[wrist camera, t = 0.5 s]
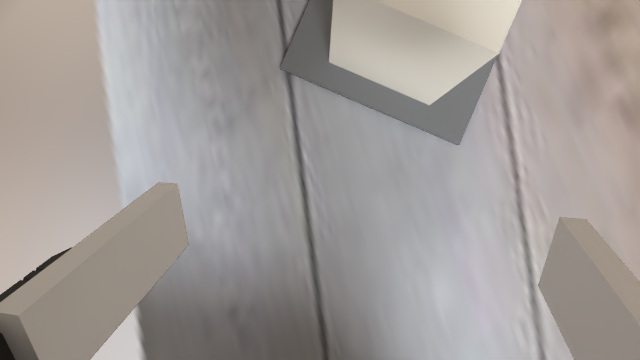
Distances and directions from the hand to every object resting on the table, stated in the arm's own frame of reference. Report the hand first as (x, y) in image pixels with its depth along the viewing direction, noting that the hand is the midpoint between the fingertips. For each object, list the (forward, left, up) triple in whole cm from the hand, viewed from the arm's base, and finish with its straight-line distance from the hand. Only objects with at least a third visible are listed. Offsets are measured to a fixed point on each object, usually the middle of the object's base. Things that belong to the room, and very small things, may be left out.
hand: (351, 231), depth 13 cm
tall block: (+13, 0, -17) cm, 22 cm away
